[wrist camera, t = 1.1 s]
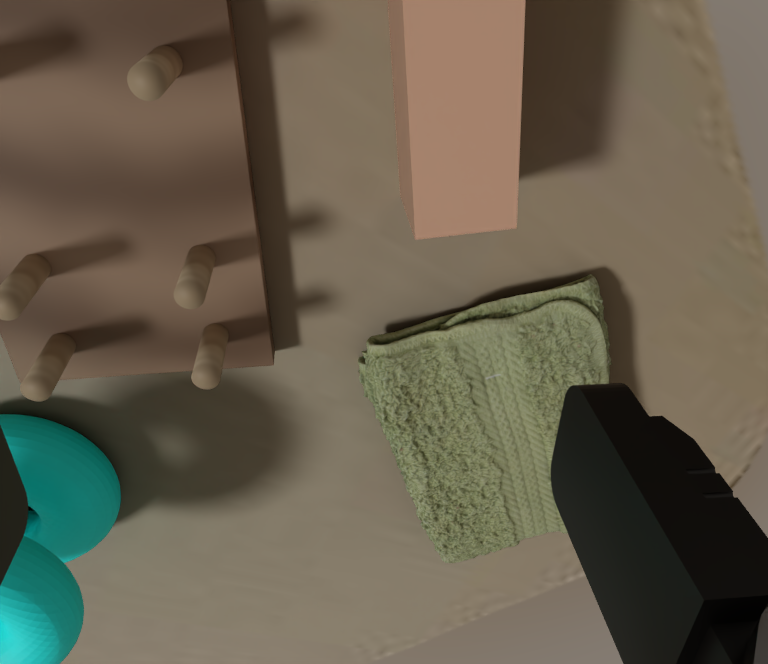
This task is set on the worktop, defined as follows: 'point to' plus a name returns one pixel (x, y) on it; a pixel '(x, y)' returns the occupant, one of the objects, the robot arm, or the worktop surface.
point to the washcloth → (486, 410)
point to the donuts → (52, 536)
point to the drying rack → (126, 194)
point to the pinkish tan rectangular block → (458, 112)
